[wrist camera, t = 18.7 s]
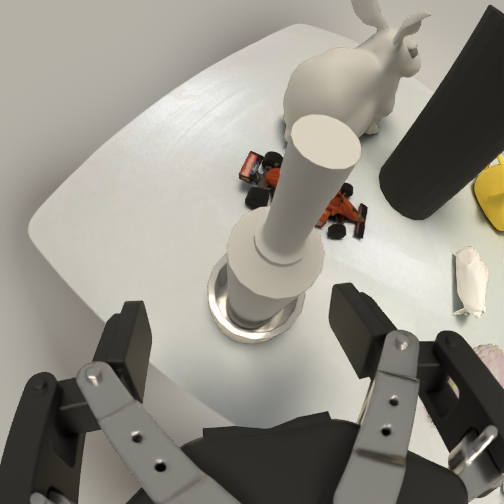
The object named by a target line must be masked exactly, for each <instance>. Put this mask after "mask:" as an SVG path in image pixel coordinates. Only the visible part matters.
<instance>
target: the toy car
mask: <svg viewBox="0 0 504 504" xmlns="http://www.w3.org/2000/svg"><path fill="white" fill-rule="evenodd" d="M262 160H263V161H262ZM282 161H283V157H282V156H281V155H280V154H279V153H277V152H272V151H271V152H268V153H266V155H265V157H263V156H261V155H259V154H257V153H255V152H252V151H250V153H249V155H248V157H247V159H246V161H245V163H244V165H243V166H242V169H241V171H240V173H239V179H241V180H243V181H245V182H247V183H250V184H251V183H252V182H253V181H254V182H256V184H257V185H258V186H257V187H252V188H251V189H250V190H249V192H248V195H247V197H246V199H245V203H246V204H247V205H248V206H249V207H250V208H252V209H257V208H259V207H266V205H267V202H268V200H269V193H268V191H269V190H274V191H273V195H272V199H271V203H272V200H273V197H274V193H275V190H276V187H277V184H278V180H279V177H280V169H281V165H282ZM261 162H262V167H263V168H264V169H265V170H264V173H263V174H259V173H258V170H257V169H258V168H259V166H260V164H261ZM264 189H265V190H264ZM352 194H353V186H352V185H351V184H349V183H344V184H343V185H342V187H341V188H340V190H339V191H338V193H337V194H336V196H335V197H334V199H332V200H331V201H330V203H329V204H328V206H327V208H326V209H325V211H324V212H323V214H322V216H321V217H320V219H319V220H318V222H317V223H316V225H318V226H323V225H324V224H326V221H327V219H328V218H329V219H331V220H334V221H336V222H337V224H333V225H331V226H330V227H329V228H328V233H329V237H331V238H333V239H339V238H343V237H344V236H345V235H346V228H345V226H344V225H343V224H344V222H345V220H349V221H352V222H357V225H356V231H355V235H356V236H357V237H359V238H362V239H363V234H364V229H365V220H366V215H367V208H368V207H366V206H365V205H364V204H362V203H361V204H360V209H359V212H358V211H357V210H356V208H355V207H354V206H353V205H352V204H351V203H350V202H349V201H348V200H347V199H346V198H345V197H350V196H352ZM339 223H340V224H339Z"/></svg>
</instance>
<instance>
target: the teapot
mask: <svg viewBox="0 0 504 504" xmlns="http://www.w3.org/2000/svg"><path fill="white" fill-rule="evenodd" d="M496 158H497V159H498V161H499V163H500V164H497V165H494V166H491V167H489V165H490V164H489V165H488V166H487V167H486V168H485V169H484V171H483V172H482V173H481V174H480V175H479V176H478V177H477V179H476V182H475V186H474V191H475V194H476V197H477V199H478V202H479V204H480V206H481V208H482V209H483V211H484V213H485V215H486V216H487V218H488V219H489V220H490V222H491V223H492V224H493V226H494V227H495V228H496V229H497V230H499V231H504V161H503V159H502V157H501V155H499V156H497V157H496Z"/></svg>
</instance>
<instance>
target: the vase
mask: <svg viewBox="0 0 504 504" xmlns="http://www.w3.org/2000/svg"><path fill="white" fill-rule="evenodd" d="M503 151H504V14H503V13H502V12H501V11H499V10H498V9H496V8H495V7H493V6H492V5H489V6H488V7H487V9H486V11H485V13H484V14H483V16H482V18H481V20H480V22H479V23H478V25H477V27H476V28H475V30H474V31H473V33H472V35H471V37H470V38H469V40H468V42H467V43H466V45H465V46H464V48H463V50H462V51H461V53H460V54H459V56H458V58H457V59H456V61H455V62H454V64H453V65H452V67H451V69H450V70H449V72H448V73H447V75H446V76H445V78H444V80H443V81H442V82H441V84H440V85H439V87H438V88H437V90H436V92H435V93H434V94H433V96H432V97H431V99H430V100H429V102H428V103H427V105H426V106H425V108H424V109H423V111H422V112H421V113H420V115H419V116H418V118H417V119H416V121H415V122H414V124H413V125H412V126H411V128H410V129H409V131H408V132H407V133H406V135H405V136H404V138H403V139H402V140H401V142H400V143H399V145H398V146H397V147H396V149H395V150H394V152H393V153H392V154H391V156H390V157H389V158H388V160H387V161H386V162H385V164H384V165H383V167H382V168H381V171H380V175H379V179H380V186H381V189H382V191H383V193H384V195H385V197H386V199H387V200H388V201H389V202H390V204H391V205H392V206H393V207H394V208H395V209H396V210H397V211H399V212H400V213H401V214H403V215H404V216H407V217H409V218H412V219H415V220H423V219H425V218H427V217H429V216H431V215H432V214H433V213H434V212H435V211H437V210H438V209H439V208H440V207H441V206H443V205H444V204H445V203H446V202H447V201H449V200H450V199H451V198H452V197H453V196H454V195H456V194H457V193H458V192H459V191H460V190H461V189H462V188H464V187H465V186H466V185H467V184H468V183H469V182H470V181H472V180H473V179H474V178H475V177H476V176H477V175H478V174H479V173H480V172H481V171H483V170H484V169H485V168H486V167H487V166H488V165H489V164H490V163H491V162H492V161H493V160H494V159H495V158H496V157H497V156H499V155H500V154H501V153H502V152H503Z"/></svg>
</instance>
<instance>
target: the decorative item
mask: <svg viewBox="0 0 504 504" xmlns="http://www.w3.org/2000/svg"><path fill="white" fill-rule="evenodd" d="M473 350H474V351H475V353H476V354H477V355H478V356H479V358H480V359H481V360H482V361H483V363H484V364H485V365H486V366H487V368H488V369H489V370H490V372H491V373H492V374H493V376H494V377H495V378H496V379H497V381H498V382H499V383H500V385H501V386H502V387H504V355H503V351H502V350H499V347H498V346H496V345H495V346H493V345H492V344H488V345H479V346H478V347H475V348H473ZM448 383H449V384H450V386H451V387H452V389H453V390H454V392H455V394H456V395H457V397H458V398H459V391H458V388H457V386H456V385H455V383H454V382H453V380H452V379H451V378H450V379H449V381H448Z"/></svg>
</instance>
